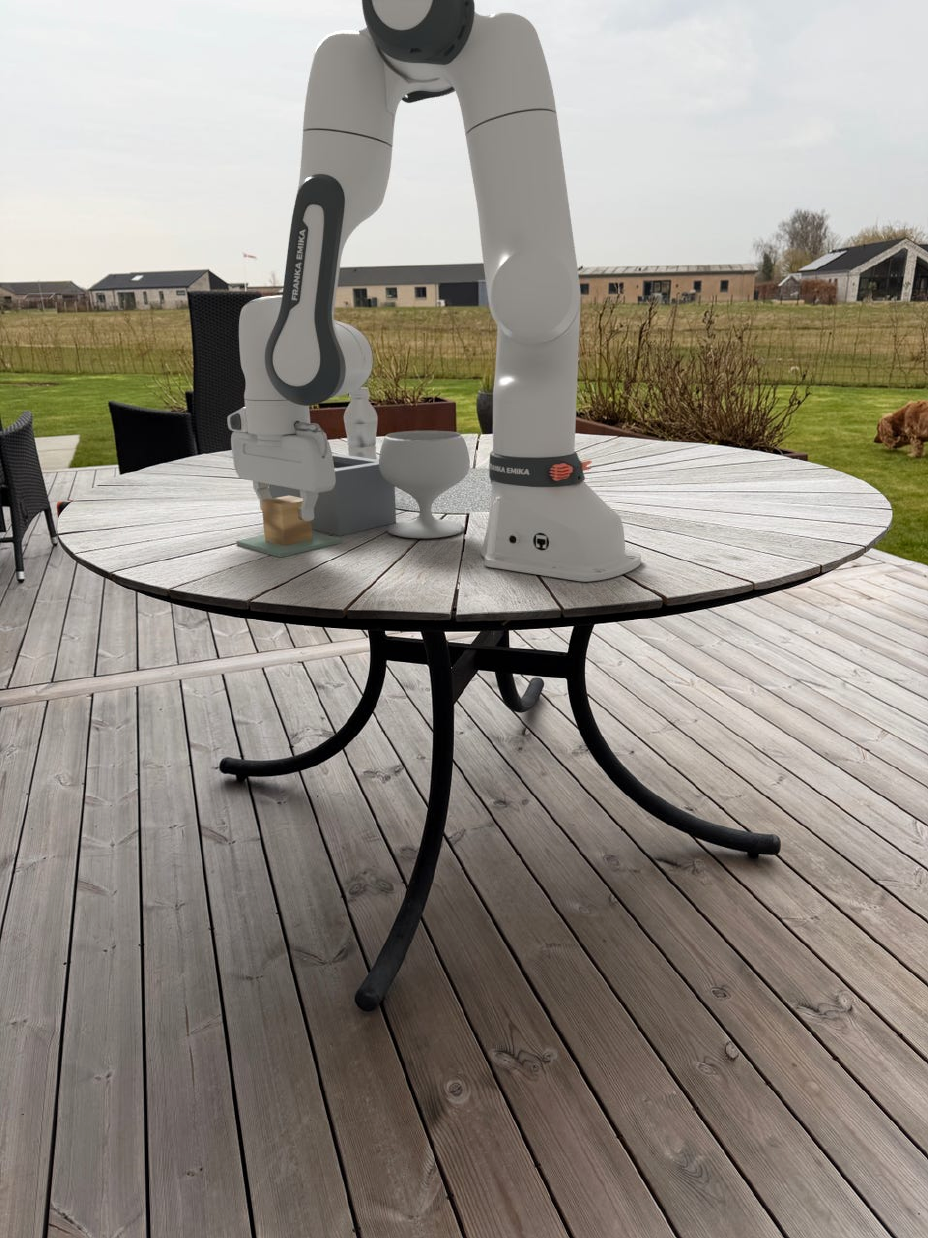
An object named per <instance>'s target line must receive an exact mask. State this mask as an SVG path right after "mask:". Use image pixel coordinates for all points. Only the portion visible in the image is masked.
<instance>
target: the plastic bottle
mask: <svg viewBox="0 0 928 1238" xmlns="http://www.w3.org/2000/svg"><path fill="white" fill-rule="evenodd" d="M369 390H370V388H369V387H366V386H365V387H363V386H362V387H360V388H359V389H357V390H355V391H353V392H351V393H349V395H348V399H350V402H349V403H348V406H347V407H346V409H345V411H344V414H343V422H344V429H345V433H346V440H347V447H348V448H347V451H348V455H349V456H356V457H363V458H370V459H377V458H378V457H377V446H376V444H377V432H378V431H377V430H378V414H377V411H376V409H375V408H374V406H373V405H372V404H371V402H370V400H369V399H370V397H371V395H370V391H369ZM377 460H378V459H377Z"/></svg>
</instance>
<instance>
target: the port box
mask: <svg viewBox="0 0 928 1238" xmlns="http://www.w3.org/2000/svg"><path fill="white" fill-rule="evenodd" d="M332 457H333V463H334V470H335V478H336V483H335V485H334V488H333V489H332V490H330V491H325V492H320V493H318V499H317V501H316V504H315V507H314V519H313V520H311V523H312V531H313V530H314V531H318V532H321V533H326V534H330V535H333V536H334V535H335V536H338V537H342V536H346V535H350V534H354V533H357V532H358V533H359V532H363V531H366V530H371V529H375V528H380V527H383V526H387V525H393V524H395V523H397V516H396V515H397V512H396V488H395V486H393V485H392V484H390V483H389V482H387V481H386V480H385V479H384V477H383V476H382V475H381V472H380V470H379V459H370V458H363V457H356V456H349V454H339V453H334V452H333V453H332ZM268 488H269V491H270V494H271V497H272V499H273V498H278V497H284V496H294V497H299V498H301V497H300V490H297V489H292V488H287V487H281V486H276V485H271V484H270V487H268Z"/></svg>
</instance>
